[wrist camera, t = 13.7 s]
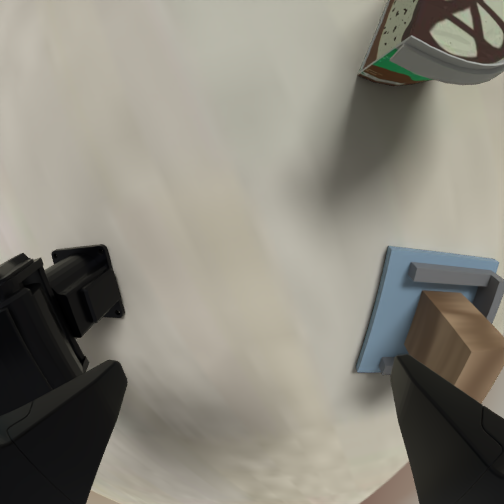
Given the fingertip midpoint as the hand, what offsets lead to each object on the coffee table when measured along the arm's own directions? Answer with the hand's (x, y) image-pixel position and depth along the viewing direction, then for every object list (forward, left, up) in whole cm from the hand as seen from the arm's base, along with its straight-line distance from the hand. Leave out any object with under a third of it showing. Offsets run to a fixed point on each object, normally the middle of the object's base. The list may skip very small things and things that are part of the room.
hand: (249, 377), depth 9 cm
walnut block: (+13, -7, -12) cm, 19 cm away
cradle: (+13, -7, -13) cm, 20 cm away
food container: (+12, +14, -13) cm, 23 cm away
